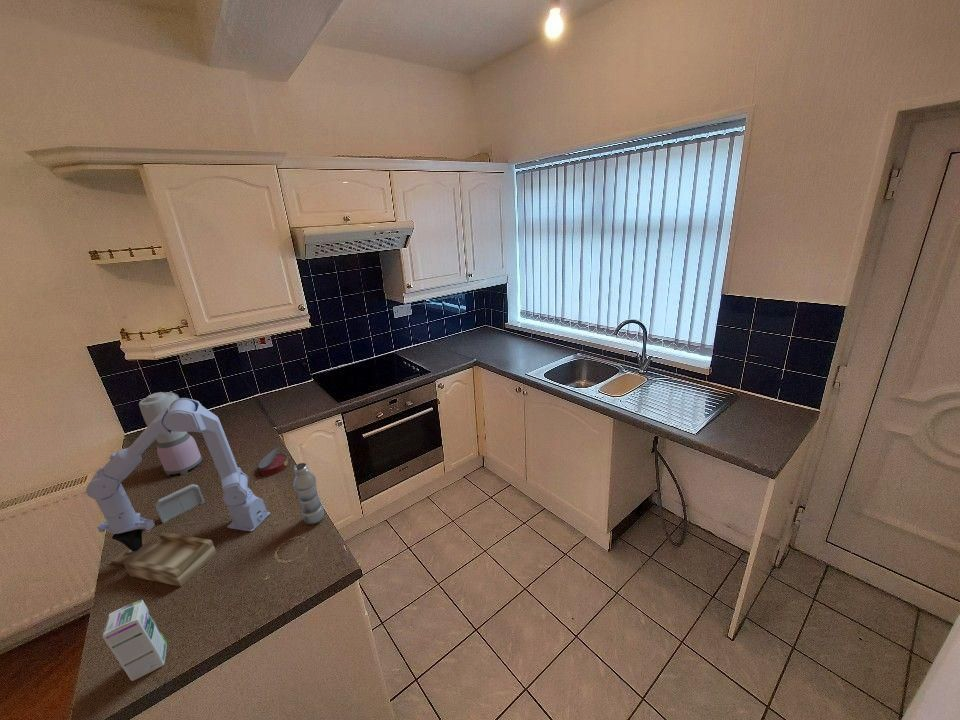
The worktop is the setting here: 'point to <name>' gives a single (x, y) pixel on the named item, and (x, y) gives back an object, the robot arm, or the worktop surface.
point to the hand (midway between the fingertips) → (137, 548)
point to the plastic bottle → (307, 494)
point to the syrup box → (135, 640)
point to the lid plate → (132, 553)
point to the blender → (170, 437)
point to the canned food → (273, 463)
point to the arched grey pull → (179, 502)
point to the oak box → (172, 559)
